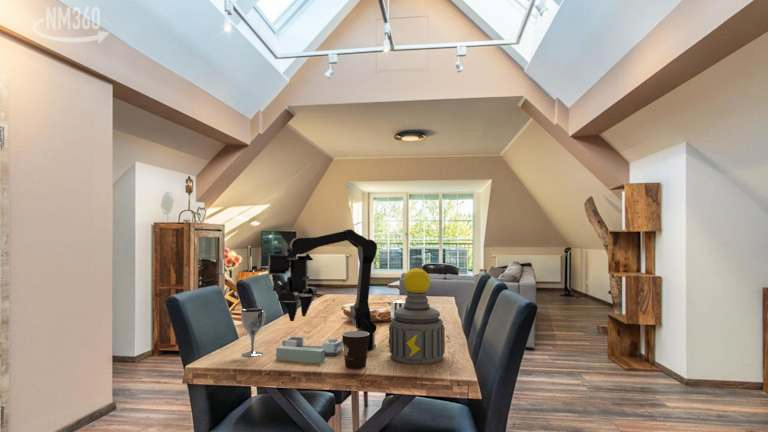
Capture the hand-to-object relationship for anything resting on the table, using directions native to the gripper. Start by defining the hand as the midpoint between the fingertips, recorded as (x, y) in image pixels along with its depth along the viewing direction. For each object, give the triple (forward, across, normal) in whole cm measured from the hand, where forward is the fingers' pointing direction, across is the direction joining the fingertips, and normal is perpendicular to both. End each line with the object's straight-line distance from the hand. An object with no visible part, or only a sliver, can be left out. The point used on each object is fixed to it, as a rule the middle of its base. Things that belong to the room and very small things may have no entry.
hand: (298, 318), depth 147 cm
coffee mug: (+12, +7, +23) cm, 27 cm away
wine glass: (+12, +4, -15) cm, 20 cm away
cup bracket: (+12, -4, +4) cm, 13 cm away
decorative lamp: (+12, -7, +41) cm, 43 cm away
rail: (+12, +7, +4) cm, 15 cm away
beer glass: (+12, -30, +30) cm, 44 cm away
